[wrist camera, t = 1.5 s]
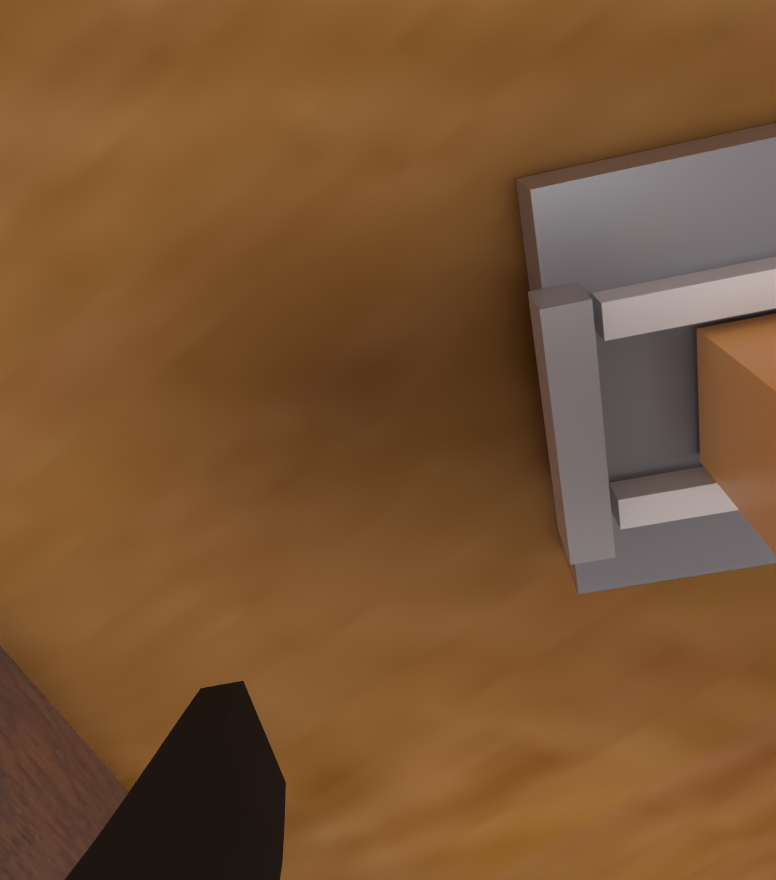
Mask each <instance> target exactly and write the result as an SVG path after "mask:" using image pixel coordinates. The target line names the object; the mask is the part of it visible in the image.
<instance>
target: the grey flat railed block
mask: <svg viewBox="0 0 776 880" xmlns="http://www.w3.org/2000/svg"><path fill="white" fill-rule="evenodd" d="M515 180H516V188H517V196H518V203H519V211H520V219H521V227H522V235H523V243H524V251H525V259H526V267H527V274H528V282H529V290H530V291H528V298H529V306H530V314H531V322H532V329H533V337H534V345H535V353H536V361H537V368H538V376H539V384H540V392H541V400H542V408H543V415H544V423H545V431H546V439H547V447H548V454H549V462H550V470H551V478H552V486H553V493H554V501H555V509H556V517H557V525H558V532H559V534H560V537H561V543H562V550H563V553H564V556H565V558H566V561H567V564H568V567H569V569H570V572H571V575H572V578H573V581H574V583H575V586H576V589H577V592H578V594H584V593H590V592H596V591H603V590H609V589H615V588H622V587H628V586H634V585H641V584H647V583H653V582H660V581H666V580H672V579H679V578H685V577H691V576H698V575H704V574H710V573H717V572H723V571H729V570H736V569H742V568H748V567H755V566H761V565H767V564H774V563H776V555H775V553H774V552H773V551H772V550H771V549H770V547H769V546H768V545H767V544H766V542H765V541H764V540H763V539H762V537H761V536H760V535H759V534H758V533H757V531H756V530H755V529H754V528H753V526H752V525H751V524H750V523H749V522H748V520H747V519H746V518H745V517H744V515H743V514H742V513H741V512H740V511H739V509H738V508H737V507H736V506H735V504H734V503H733V502H732V501H731V500H730V498H729V497H728V496H727V495H726V493H725V492H724V491H723V490H722V489H721V487H720V486H719V485H718V484H717V482H716V481H715V480H714V479H713V478H712V476H711V475H710V474H709V473H708V471H707V470H706V469H705V468H704V466H703V465H702V464H701V463H700V437H699V401H698V364H697V328H702V327H708V326H713V325H718V324H723V323H729V322H734V321H739V320H744V319H749V318H755V317H760V316H765V315H770V314H776V122H775V123H771V124H766V125H761V126H757V127H752V128H747V129H743V130H738V131H734V132H729V133H724V134H720V135H715V136H710V137H706V138H701V139H697V140H692V141H687V142H683V143H678V144H674V145H669V146H664V147H660V148H655V149H650V150H646V151H641V152H637V153H632V154H627V155H623V156H618V157H613V158H609V159H604V160H600V161H595V162H590V163H586V164H581V165H576V166H572V167H567V168H563V169H558V170H553V171H549V172H544V173H539V174H535V175H530V176H526V177H521V178H516V179H515Z"/></svg>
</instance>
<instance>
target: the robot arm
mask: <svg viewBox="0 0 776 880" xmlns="http://www.w3.org/2000/svg"><path fill="white" fill-rule="evenodd" d="M285 789H286V782H285V780H284V777H283V775H282V773H281V770H280V768H279V765H278V763H277V761H276V758H275V756H274V753H273V751H272V749H271V746H270V744H269V742H268V739H267V737H266V734H265V732H264V730H263V727H262V725H261V722H260V720H259V718H258V715H257V713H256V710H255V708H254V706H253V703H252V701H251V698H250V696H249V694H248V691H247V689H246V687H245V684H244V682H243V681H240V682H234V683H228V684H223V685H217V686H212V687H206V688H201V689H200V690H199V692H198V693H197V694H196V696H195V697H194V699H193V700H192V702H191V703H190V704H189V706H188V707H187V709H186V710H185V712H184V713H183V714H182V716H181V717H180V719H179V720H178V722H177V723H176V725H175V726H174V727H173V729H172V730H171V732H170V733H169V735H168V736H167V738H166V739H165V741H164V742H163V744H162V745H161V746H160V748H159V749H158V751H157V752H156V754H155V755H154V757H153V758H152V760H151V761H150V762H149V764H148V765H147V767H146V768H145V770H144V771H143V773H142V774H141V776H140V777H139V778H138V780H137V781H136V783H135V784H134V786H133V787H132V788H131V790H130V791H129V793H128V794H127V796H126V797H125V798H124V800H123V801H122V803H121V804H120V805H119V807H118V808H117V810H116V811H115V812H114V814H113V815H112V817H111V818H110V819H109V821H108V822H107V824H106V825H105V826H104V828H103V829H102V831H101V832H100V834H99V835H98V836H97V838H96V839H95V840H94V842H93V843H92V845H91V846H90V847H89V848H88V850H87V851H86V852H85V854H84V855H83V856H82V858H81V859H80V860H79V861H78V863H77V864H76V865H75V867H74V868H73V869H72V871H71V872H70V873H69V875H68V876H67V877H66V878H65V880H280V874H281V867H282V859H283V840H284V820H285Z"/></svg>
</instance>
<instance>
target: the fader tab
mask: <svg viewBox="0 0 776 880" xmlns="http://www.w3.org/2000/svg"><path fill="white" fill-rule="evenodd" d="M697 364H698V401H699V437H700V463H701V464H702V465H703V466H704V468H705V469H706V470H707V471H708V473H709V474H710V475H711V476H712V478H713V479H714V480H715V481H716V482H717V484H718V485H719V486H720V487H721V489H722V490H723V491H724V492H725V493H726V495H727V496H728V497H729V498H730V500H731V501H732V502H733V503H734V504H735V506H736V507H737V508H738V509H739V511H740V512H741V513H742V514H743V515H744V517H745V518H746V519H747V520H748V522H749V523H750V524H751V525H752V526H753V528H754V529H755V530H756V531H757V533H758V534H759V535H760V536H761V537H762V539H763V540H764V541H765V542H766V544H767V545H768V546H769V547H770V549H771V550H772V551H773V552H774V553H775V555H776V314H770V315H765V316H760V317H755V318H749V319H744V320H739V321H734V322H729V323H723V324H718V325H713V326H708V327H702V328H697Z"/></svg>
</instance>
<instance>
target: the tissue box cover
mask: <svg viewBox="0 0 776 880" xmlns="http://www.w3.org/2000/svg"><path fill="white" fill-rule="evenodd" d="M127 794H128V792H127V790H126V789H125V788H124V787H123V786H122V785H121V783H120V782H119V781H118V780H117V779H116V778H115V777H114V775H113V774H112V773H111V772H110V771H109V770H108V769H107V767H106V766H105V765H104V764H103V763H102V762H101V761H100V759H99V758H98V757H97V756H96V755H95V754H94V753H93V751H92V750H91V749H90V748H89V747H88V746H87V745H86V743H85V742H84V741H83V740H82V739H81V738H80V737H79V735H78V734H77V733H76V732H75V731H74V730H73V729H72V727H71V726H70V725H69V724H68V723H67V722H66V721H65V719H64V718H63V717H62V716H61V715H60V714H59V713H58V711H57V710H56V709H55V708H54V707H53V706H52V705H51V703H50V702H49V701H48V700H47V699H46V698H45V697H44V695H43V694H42V693H41V692H40V691H39V690H38V689H37V687H36V686H35V685H34V684H33V683H32V682H31V681H30V679H29V678H28V677H27V676H26V675H25V674H24V673H23V671H22V670H21V669H20V668H19V667H18V666H17V665H16V663H15V662H14V661H13V660H12V659H11V658H10V657H9V655H8V654H7V653H6V652H5V651H4V650H3V649H2V647H1V646H0V880H65V878H66V877H67V876H68V875H69V873H70V872H71V871H72V869H73V868H74V867H75V865H76V864H77V863H78V861H79V860H80V859H81V858H82V856H83V855H84V854H85V852H86V851H87V850H88V848H89V847H90V846H91V845H92V843H93V842H94V840H95V839H96V838H97V836H98V835H99V834H100V832H101V831H102V829H103V828H104V826H105V825H106V824H107V822H108V821H109V819H110V818H111V817H112V815H113V814H114V812H115V811H116V810H117V808H118V807H119V805H120V804H121V803H122V801H123V800H124V798H125V797H126V796H127Z"/></svg>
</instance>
